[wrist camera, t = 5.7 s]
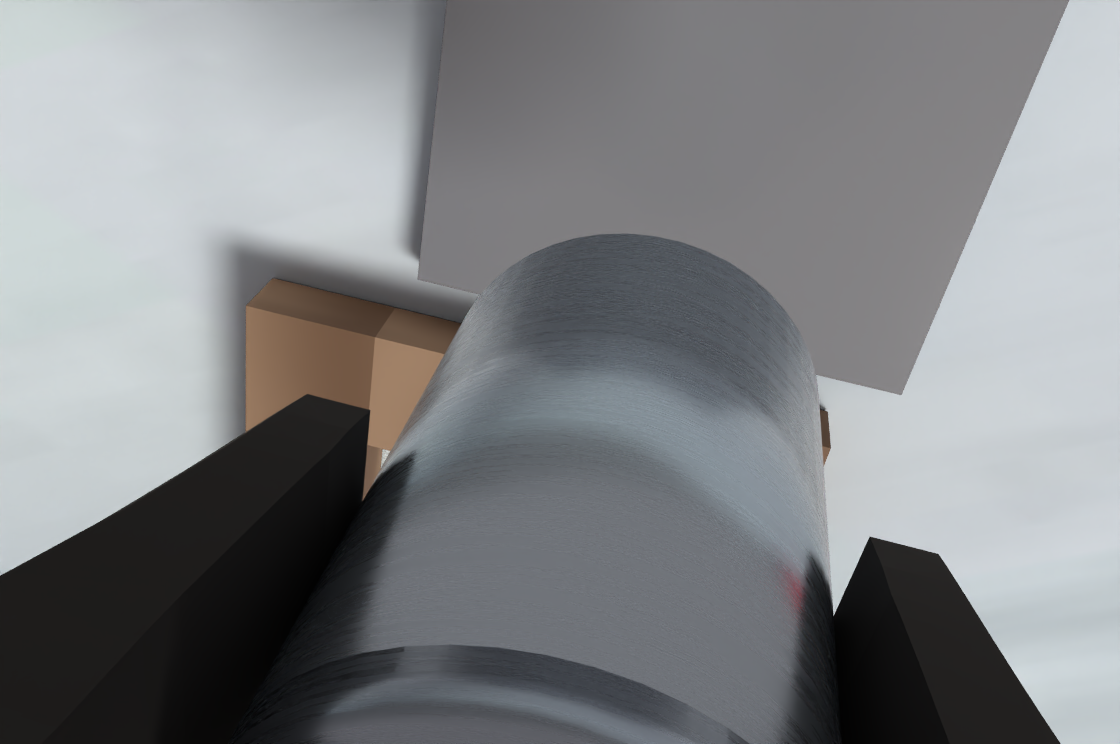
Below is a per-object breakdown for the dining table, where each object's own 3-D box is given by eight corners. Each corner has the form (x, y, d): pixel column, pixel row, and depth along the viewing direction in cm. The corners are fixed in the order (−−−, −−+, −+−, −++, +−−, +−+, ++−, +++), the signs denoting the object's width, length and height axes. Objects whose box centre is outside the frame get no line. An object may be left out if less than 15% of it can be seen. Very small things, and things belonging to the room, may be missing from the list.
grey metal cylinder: (425, 491, 14) (159, 1046, 8) (484, 187, 11) (163, 658, 5) (748, 586, 13) (727, 1227, 8) (878, 297, 11) (994, 911, 5)
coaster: (425, 267, 19) (417, 279, 19) (486, -297, 14) (477, -299, 14) (898, 380, 19) (901, 395, 18) (1128, -168, 14) (1139, -165, 13)
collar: (266, 659, 26) (244, 696, 25) (272, 277, 20) (245, 305, 19) (690, 771, 25) (686, 814, 24) (827, 411, 19) (830, 448, 18)
